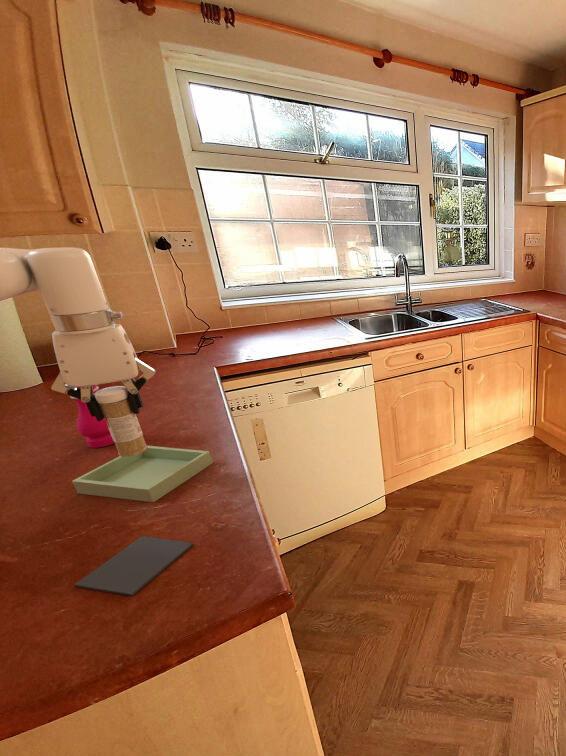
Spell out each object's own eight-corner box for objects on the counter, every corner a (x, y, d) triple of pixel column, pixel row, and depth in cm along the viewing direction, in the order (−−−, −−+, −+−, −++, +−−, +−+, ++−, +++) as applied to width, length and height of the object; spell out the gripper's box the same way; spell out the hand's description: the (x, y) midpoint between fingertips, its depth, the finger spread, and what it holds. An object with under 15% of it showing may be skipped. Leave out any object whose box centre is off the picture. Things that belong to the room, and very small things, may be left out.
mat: (75, 586, 61) (74, 584, 61) (142, 537, 70) (141, 536, 70) (132, 596, 59) (131, 594, 59) (193, 544, 68) (193, 542, 68)
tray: (77, 493, 82) (71, 480, 81) (145, 456, 94) (141, 444, 93) (153, 502, 79) (148, 489, 78) (213, 462, 91) (209, 451, 90)
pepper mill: (81, 443, 100) (45, 364, 92) (120, 431, 105) (88, 355, 98) (90, 452, 96) (52, 370, 89) (130, 439, 102) (98, 360, 94)
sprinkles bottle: (125, 448, 85) (101, 386, 80) (152, 444, 86) (130, 383, 82) (114, 459, 81) (88, 395, 76) (142, 455, 82) (119, 392, 78)
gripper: (147, 311, 81) (175, 398, 88) (21, 323, 72) (63, 419, 79) (143, 319, 76) (173, 411, 82) (6, 333, 67) (52, 434, 73)
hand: (119, 414), depth 81 cm, fingers closed on sprinkles bottle, 4 cm apart
